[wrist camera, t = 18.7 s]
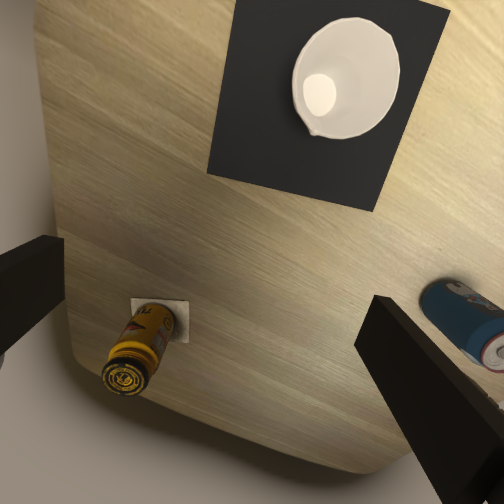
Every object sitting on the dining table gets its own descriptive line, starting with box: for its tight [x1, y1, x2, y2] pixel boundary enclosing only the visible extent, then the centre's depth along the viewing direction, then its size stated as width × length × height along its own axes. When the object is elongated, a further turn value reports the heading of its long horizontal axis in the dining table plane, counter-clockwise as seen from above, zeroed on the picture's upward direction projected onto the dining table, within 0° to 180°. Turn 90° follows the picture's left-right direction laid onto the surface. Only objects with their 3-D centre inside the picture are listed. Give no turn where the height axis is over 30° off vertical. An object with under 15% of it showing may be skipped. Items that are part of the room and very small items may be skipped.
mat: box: [207, 0, 451, 212], centre depth 33 cm, size 22×22×1 cm
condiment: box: [102, 298, 189, 396], centre depth 38 cm, size 7×8×12 cm
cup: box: [292, 17, 400, 139], centre depth 28 cm, size 9×9×10 cm
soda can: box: [422, 281, 504, 373], centre depth 37 cm, size 7×7×12 cm
